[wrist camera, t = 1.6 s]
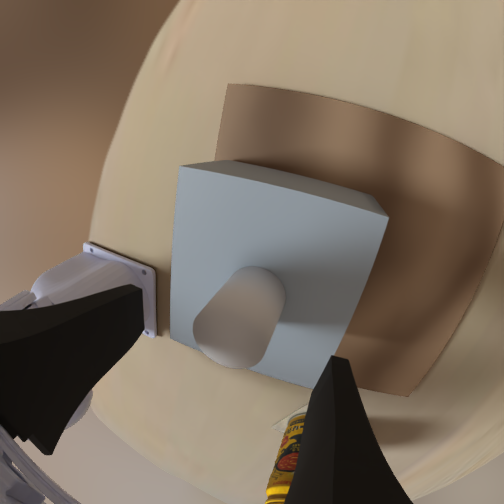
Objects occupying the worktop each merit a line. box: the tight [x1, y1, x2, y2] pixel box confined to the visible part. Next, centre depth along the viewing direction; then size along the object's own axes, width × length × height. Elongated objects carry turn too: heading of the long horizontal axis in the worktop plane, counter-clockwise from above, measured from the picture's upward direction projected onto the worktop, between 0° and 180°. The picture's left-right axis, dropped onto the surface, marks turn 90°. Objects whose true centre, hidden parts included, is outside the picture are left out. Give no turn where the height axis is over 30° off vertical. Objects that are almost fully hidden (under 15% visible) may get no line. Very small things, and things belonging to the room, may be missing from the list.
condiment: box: [265, 403, 309, 504], centre depth 19 cm, size 7×8×12 cm
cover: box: [170, 160, 389, 389], centre depth 14 cm, size 9×10×9 cm
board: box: [215, 84, 504, 397], centre depth 17 cm, size 20×20×1 cm
